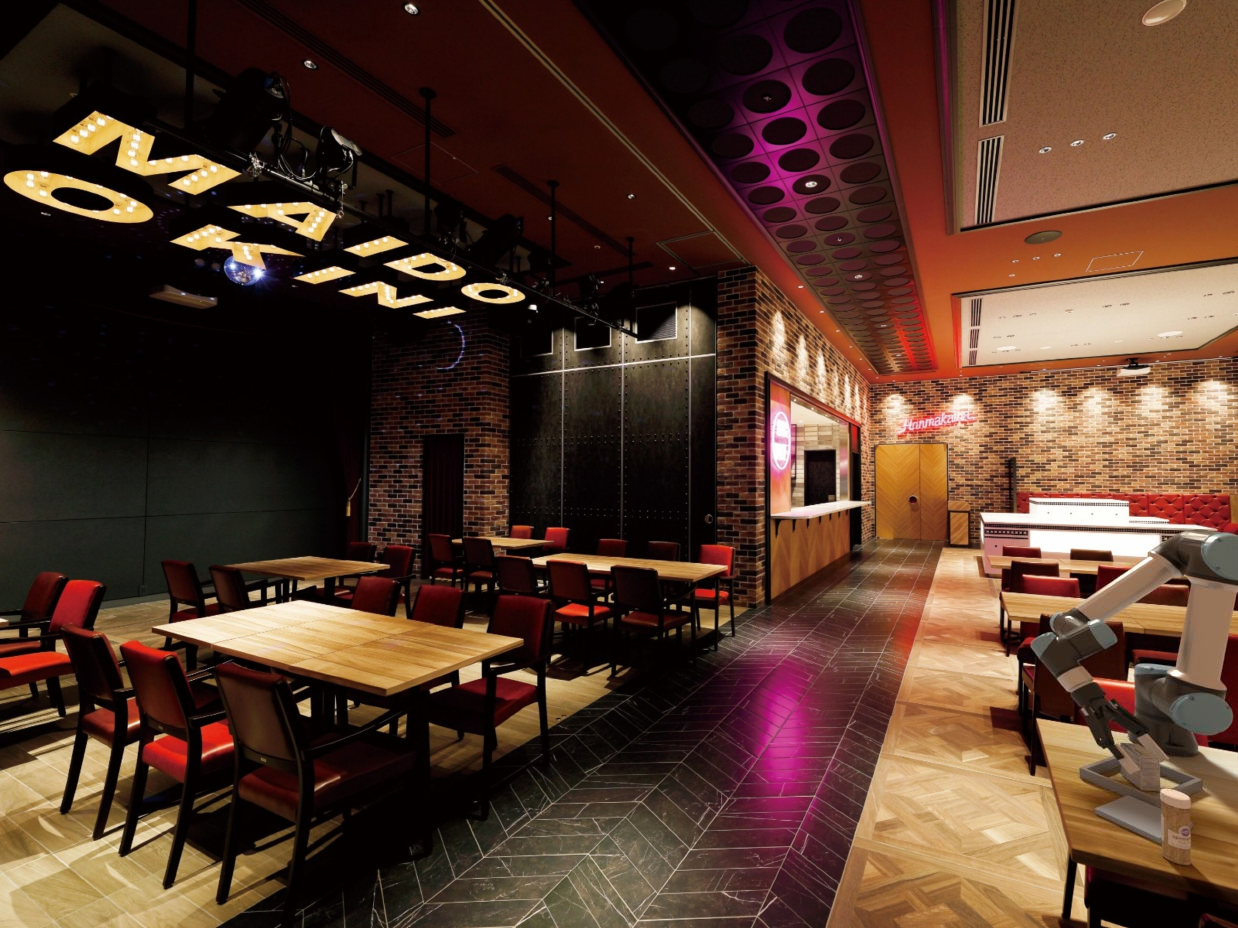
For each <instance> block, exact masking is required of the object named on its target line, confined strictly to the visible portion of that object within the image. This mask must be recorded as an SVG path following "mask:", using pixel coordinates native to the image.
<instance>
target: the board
mask: <svg viewBox="0 0 1238 928" xmlns="http://www.w3.org/2000/svg"><path fill="white" fill-rule="evenodd" d="M1161 812H1162V811H1161V808H1158V807H1155V806H1153V805H1151V804H1148V803H1146V802H1144V801H1141V800H1139V799H1136V798H1134V797H1132V796H1129V795H1127V796H1122V797H1120V798H1118V799H1117V798H1116V799H1115V800H1113V801H1110V802H1107V803H1105V804H1102V805H1100V806H1097V807H1095V808H1094V814H1095V815H1097V816H1100V817H1102V818H1104V819H1105V820H1108V821H1110V822H1112V823H1115V824H1117V825H1118V826H1121V827H1123V828H1125V829H1127V830H1130V831H1132V832H1134V833H1135V834H1138V835H1139V836H1142V837H1145V838H1147V839H1148V840H1150V841H1153V842H1155V843H1157V844H1162V838H1161ZM1193 826H1194V822H1193V821H1191V820H1190V830H1191V829H1192V828H1193Z"/></svg>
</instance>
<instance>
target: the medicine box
mask: <svg viewBox="0 0 1238 928" xmlns="http://www.w3.org/2000/svg"><path fill="white" fill-rule="evenodd" d="M1119 745H1120V746H1121V747H1122V748H1123V750H1124V751H1125V752H1126V753H1127V754H1128V756H1129V757H1130V758H1131V759H1132V760H1133V762H1134V763H1135V764H1136V765H1137V766H1138V767H1139V769H1140V770H1139V771H1137V772H1134V773H1132V774H1129V773H1128V772H1127V771H1126V770H1125V768H1124V767H1123V766H1122V765H1121V766H1120V775H1121V776H1122V775H1123V778H1125V779H1126V778H1127V780H1128V781H1129V782H1131V784H1133V785H1134V786H1135V787H1136V788H1138V790H1140V791H1145V792H1146V791H1147V792H1158V793H1160V791H1161V790H1162V788H1161V775H1160V764H1161V763H1159V758H1158V757H1157V756H1155V755H1154V754H1153V753H1151V752H1150V751H1148V750H1147V749H1146V748H1144V747H1142V746H1140V745H1139V744H1136V743H1134V742H1132V743H1131V742H1120V743H1119Z"/></svg>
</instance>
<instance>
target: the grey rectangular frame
mask: <svg viewBox="0 0 1238 928" xmlns="http://www.w3.org/2000/svg"><path fill="white" fill-rule="evenodd" d="M1118 766H1119V767H1121V763H1120V762H1119V761H1118V760H1117V759H1116V758H1115V757H1114V755H1112V756H1109V757H1106V758H1104V759H1101V760H1097V761H1095V762H1092V763H1089V764H1086V765H1083V766H1081V767H1079V771H1078V772H1079V778H1081V779H1083V780H1085V781H1088V782H1090V783H1091V784H1092V783H1093V784H1094V785H1096V786H1099V787H1101V788H1103V789H1106V790H1108V789H1109V790H1108V791H1110V792H1113V791H1114V792H1113V793H1115V792H1116V794H1118V795H1120V796H1122V797H1124V796H1127V795H1129V796H1132V797H1134V798H1136V799H1139V800H1141V801H1144V802H1146V803H1148V804H1151V805H1153V806H1155V807H1158V808H1160V809H1161V808H1162V805H1161V803H1162V802H1161V799H1160V792H1158V793H1157V794H1154V795H1151V794H1148V793H1146V792H1143V791H1142V790H1140V789H1136V788H1134V787H1132V786H1129V785H1127V784H1124V783H1122V782H1119V781H1116V780H1115V779H1113V778H1110V777H1107V776H1105V775H1102V774H1101V773H1104V771H1105V772H1107V770H1108V771H1110V770H1112V768H1113V769H1115V768H1114V767H1116V768H1118ZM1109 769H1110V770H1109ZM1160 776H1162V777H1165V778H1167V777H1168V779H1171V780H1173V781H1175V782H1178V783H1180V784H1179V785H1176V786H1174V787H1172V788H1170V789H1172V790H1176V791H1179V792H1181V793H1184V794H1186V795H1187V796H1188V797H1190V796H1191V795H1193V794H1196V793H1198V792H1200V791H1202V790H1204V786H1203V785H1204V780H1203V779H1202V778H1200V777H1198V776H1197V777H1196V776H1194V775H1191V774H1188V773H1186V772H1183V771H1181V770H1178V769H1175V768H1172V767H1170V766H1166V765H1165V764H1161V763H1160Z"/></svg>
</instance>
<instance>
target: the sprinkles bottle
mask: <svg viewBox="0 0 1238 928" xmlns="http://www.w3.org/2000/svg"><path fill="white" fill-rule="evenodd" d="M1159 793H1160V799H1161V802H1162V803H1161V805H1162V808H1160V809H1161V811H1162V812H1161V838H1162V843H1161V855H1162V857H1164V858H1165V859H1166V860H1168V861H1170V862H1172V863H1174V864H1178V865H1180V866H1181V865H1182V866H1190V865H1191V864H1192V860H1191V858H1192V857H1191V849H1192V844H1191V843H1192V839H1191V836H1192V835H1191V834H1192V833H1191V829H1190V821H1191V815H1190V810H1191V808H1192V804H1191V803H1192V801H1191V798H1190V796H1187V795H1186V794H1184V793H1181V792H1179V791H1176V790H1172V789H1171V788H1161V791H1160V792H1159Z"/></svg>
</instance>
